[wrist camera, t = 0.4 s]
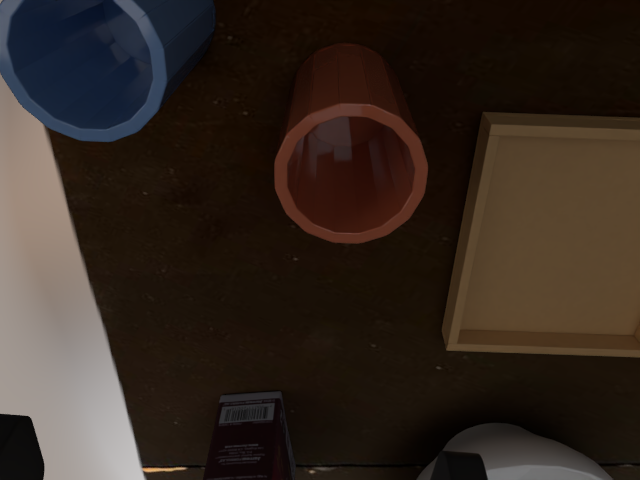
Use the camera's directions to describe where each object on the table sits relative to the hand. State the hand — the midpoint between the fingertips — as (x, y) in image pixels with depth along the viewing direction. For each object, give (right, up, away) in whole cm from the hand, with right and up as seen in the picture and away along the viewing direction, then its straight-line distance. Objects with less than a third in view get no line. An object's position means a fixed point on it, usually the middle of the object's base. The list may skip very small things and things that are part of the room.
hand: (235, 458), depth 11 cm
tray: (+17, +4, +23) cm, 29 cm away
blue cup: (-6, +16, +17) cm, 24 cm away
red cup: (+3, +12, +19) cm, 22 cm away
